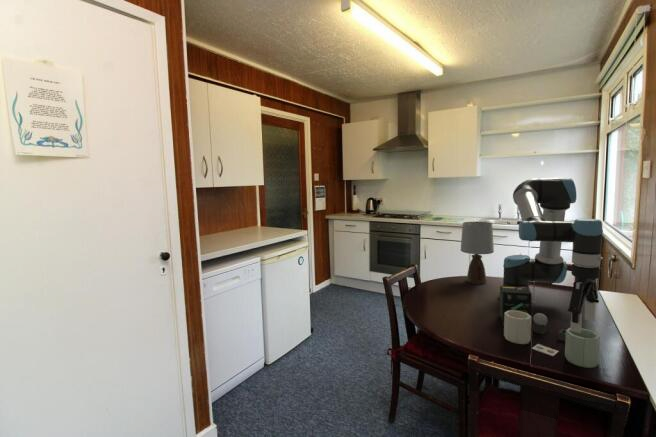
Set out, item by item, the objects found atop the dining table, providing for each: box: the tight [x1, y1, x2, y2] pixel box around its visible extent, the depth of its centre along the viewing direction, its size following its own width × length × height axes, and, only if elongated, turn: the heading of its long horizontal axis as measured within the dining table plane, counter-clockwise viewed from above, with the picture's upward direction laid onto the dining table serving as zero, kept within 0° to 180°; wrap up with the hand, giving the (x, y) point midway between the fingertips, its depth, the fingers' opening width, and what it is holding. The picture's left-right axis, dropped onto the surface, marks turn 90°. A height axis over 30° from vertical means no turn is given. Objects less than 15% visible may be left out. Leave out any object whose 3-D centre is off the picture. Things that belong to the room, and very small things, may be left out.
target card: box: [531, 343, 560, 357], centre depth 120 cm, size 7×5×1 cm
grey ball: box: [532, 312, 548, 326], centre depth 135 cm, size 5×5×5 cm
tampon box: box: [499, 285, 532, 325], centre depth 145 cm, size 11×9×15 cm
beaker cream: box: [503, 310, 532, 345], centre depth 129 cm, size 9×9×10 cm
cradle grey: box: [532, 322, 548, 335], centre depth 135 cm, size 4×4×3 cm
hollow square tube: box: [557, 328, 567, 342], centre depth 128 cm, size 4×4×3 cm
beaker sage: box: [564, 327, 601, 369], centre depth 112 cm, size 9×9×10 cm
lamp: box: [460, 221, 495, 285], centre depth 201 cm, size 19×19×37 cm
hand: (582, 325), depth 111 cm, fingers open, 13 cm apart
